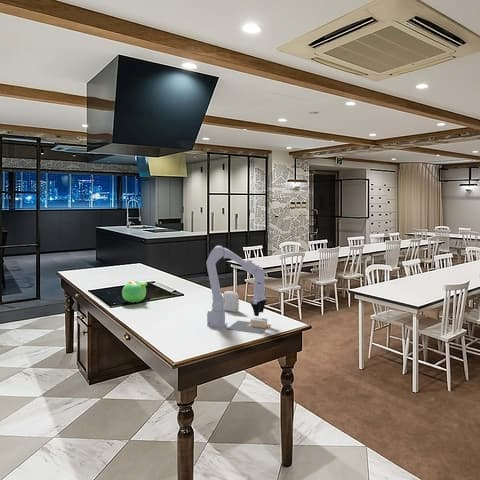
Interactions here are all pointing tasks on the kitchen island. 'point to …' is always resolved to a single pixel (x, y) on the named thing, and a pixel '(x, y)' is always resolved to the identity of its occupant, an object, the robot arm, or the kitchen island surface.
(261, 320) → the card deck
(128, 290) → the green apple
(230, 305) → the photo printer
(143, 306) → the kitchen island surface
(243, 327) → the mat
